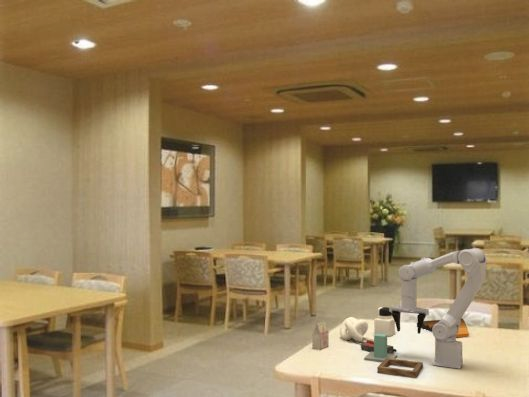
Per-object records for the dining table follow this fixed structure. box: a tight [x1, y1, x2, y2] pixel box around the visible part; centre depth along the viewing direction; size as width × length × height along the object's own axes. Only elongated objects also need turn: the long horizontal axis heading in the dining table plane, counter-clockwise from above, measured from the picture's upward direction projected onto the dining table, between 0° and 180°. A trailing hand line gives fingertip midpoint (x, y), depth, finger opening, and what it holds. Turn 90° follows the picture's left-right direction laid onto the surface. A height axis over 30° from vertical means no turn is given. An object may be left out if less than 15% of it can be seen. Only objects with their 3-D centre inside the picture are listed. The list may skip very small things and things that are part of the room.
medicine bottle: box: [373, 306, 396, 338], centre depth 248 cm, size 7×7×12 cm
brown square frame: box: [377, 358, 424, 379], centre depth 194 cm, size 13×13×2 cm
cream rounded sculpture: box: [339, 316, 369, 341], centre depth 238 cm, size 11×12×9 cm
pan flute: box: [416, 317, 470, 339], centre depth 257 cm, size 25×3×25 cm
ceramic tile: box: [363, 352, 398, 363], centre depth 209 cm, size 10×10×1 cm
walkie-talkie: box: [355, 338, 397, 354], centre depth 222 cm, size 9×4×20 cm
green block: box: [373, 333, 388, 358], centre depth 209 cm, size 4×4×8 cm
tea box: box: [311, 321, 330, 351], centre depth 224 cm, size 4×7×10 cm, turn 145°
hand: (408, 332), depth 212 cm, fingers open, 7 cm apart
